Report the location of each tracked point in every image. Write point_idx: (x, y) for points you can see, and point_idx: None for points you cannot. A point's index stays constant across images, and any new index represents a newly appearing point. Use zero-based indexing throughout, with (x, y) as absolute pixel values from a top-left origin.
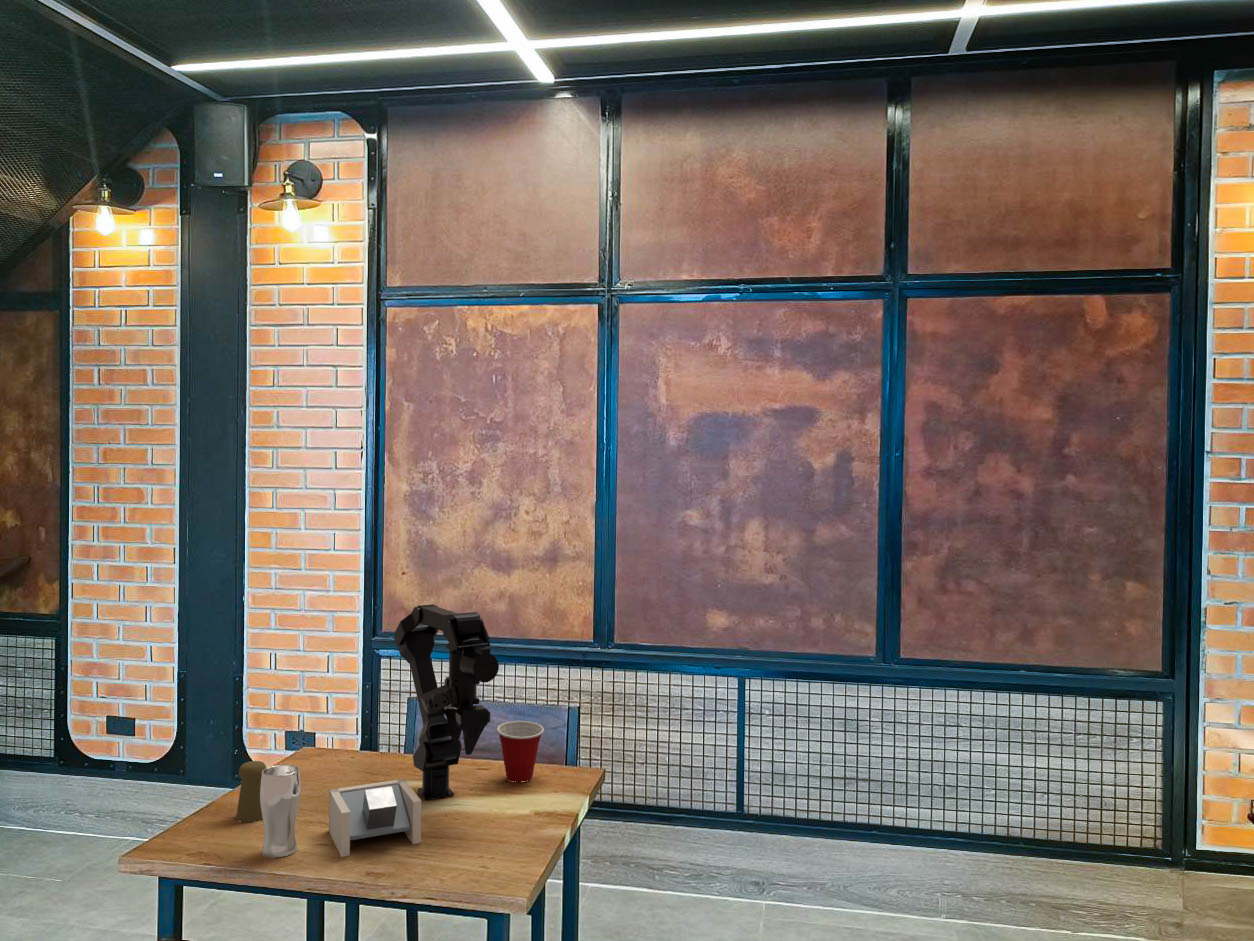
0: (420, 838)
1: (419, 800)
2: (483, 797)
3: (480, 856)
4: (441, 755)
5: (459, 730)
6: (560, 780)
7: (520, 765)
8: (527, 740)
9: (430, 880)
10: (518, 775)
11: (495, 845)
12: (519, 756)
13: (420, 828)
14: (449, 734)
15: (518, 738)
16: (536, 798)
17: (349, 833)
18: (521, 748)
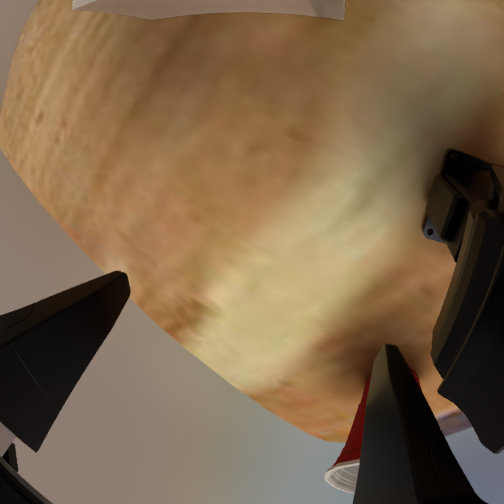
0: (146, 18)
1: (75, 4)
2: (357, 283)
3: (63, 122)
4: (458, 259)
5: (369, 430)
6: (327, 409)
7: (363, 405)
8: (335, 463)
9: (35, 33)
10: None
11: (89, 163)
12: (360, 422)
13: (129, 15)
14: (482, 379)
15: (344, 462)
16: (273, 349)
17: None
18: (352, 441)
